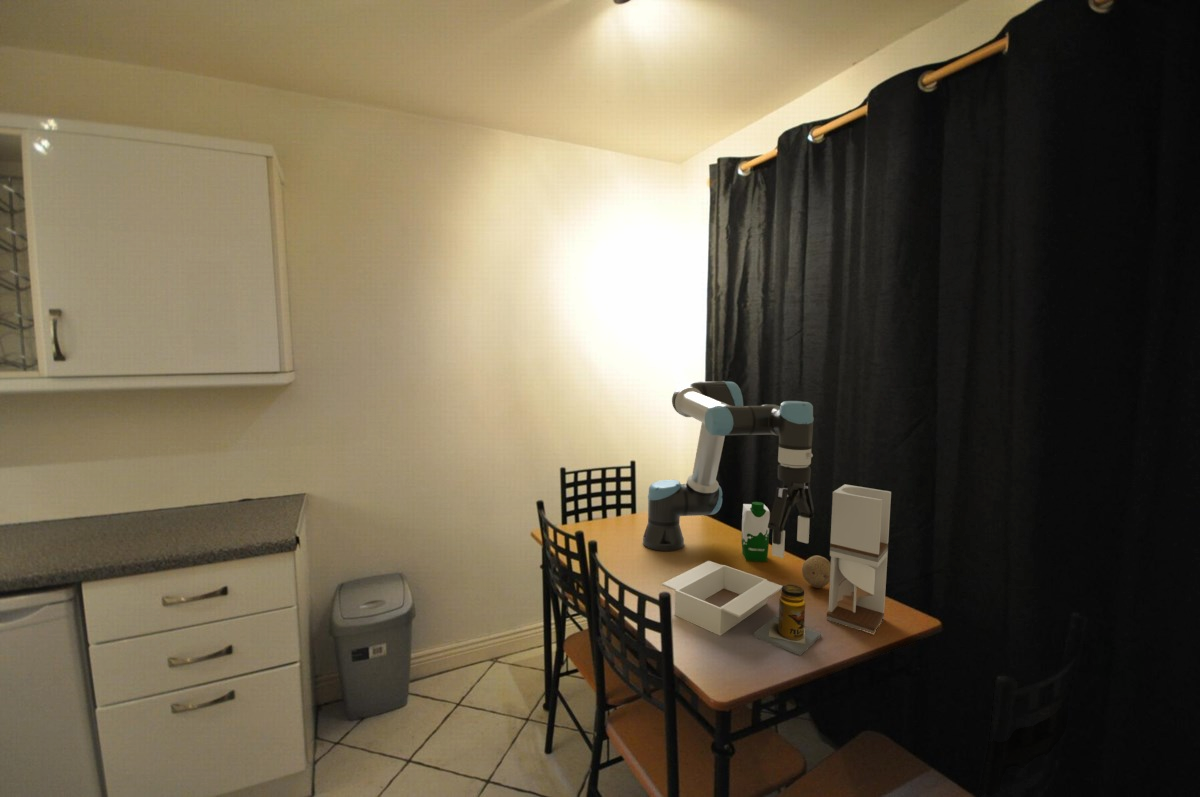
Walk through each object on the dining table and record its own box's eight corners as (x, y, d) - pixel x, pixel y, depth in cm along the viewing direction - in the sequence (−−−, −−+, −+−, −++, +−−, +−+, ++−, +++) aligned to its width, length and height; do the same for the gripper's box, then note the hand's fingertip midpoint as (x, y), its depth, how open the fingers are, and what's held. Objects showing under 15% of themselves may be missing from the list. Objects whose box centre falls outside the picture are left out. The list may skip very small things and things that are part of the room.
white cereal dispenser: (826, 620, 138) (832, 491, 135) (838, 605, 146) (844, 484, 143) (873, 635, 130) (881, 500, 127) (883, 619, 138) (891, 491, 135)
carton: (660, 608, 143) (660, 584, 143) (709, 581, 160) (709, 560, 160) (737, 643, 126) (738, 616, 125) (783, 609, 143) (784, 585, 142)
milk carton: (743, 562, 176) (745, 504, 174) (739, 551, 185) (741, 497, 183) (770, 563, 175) (772, 505, 173) (764, 553, 184) (766, 498, 182)
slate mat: (753, 635, 130) (753, 632, 130) (776, 618, 138) (776, 615, 138) (800, 655, 121) (800, 652, 121) (821, 636, 130) (821, 633, 130)
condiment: (805, 644, 125) (807, 596, 123) (768, 637, 128) (770, 590, 127) (805, 629, 131) (807, 584, 130) (770, 623, 134) (771, 578, 133)
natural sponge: (830, 598, 150) (831, 564, 149) (798, 590, 155) (799, 558, 154) (834, 586, 158) (835, 554, 157) (803, 579, 162) (804, 548, 162)
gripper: (785, 475, 114) (781, 567, 116) (830, 459, 132) (826, 540, 134) (754, 469, 120) (751, 558, 122) (801, 455, 137) (798, 532, 139)
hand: (790, 548), depth 128 cm, fingers open, 13 cm apart
